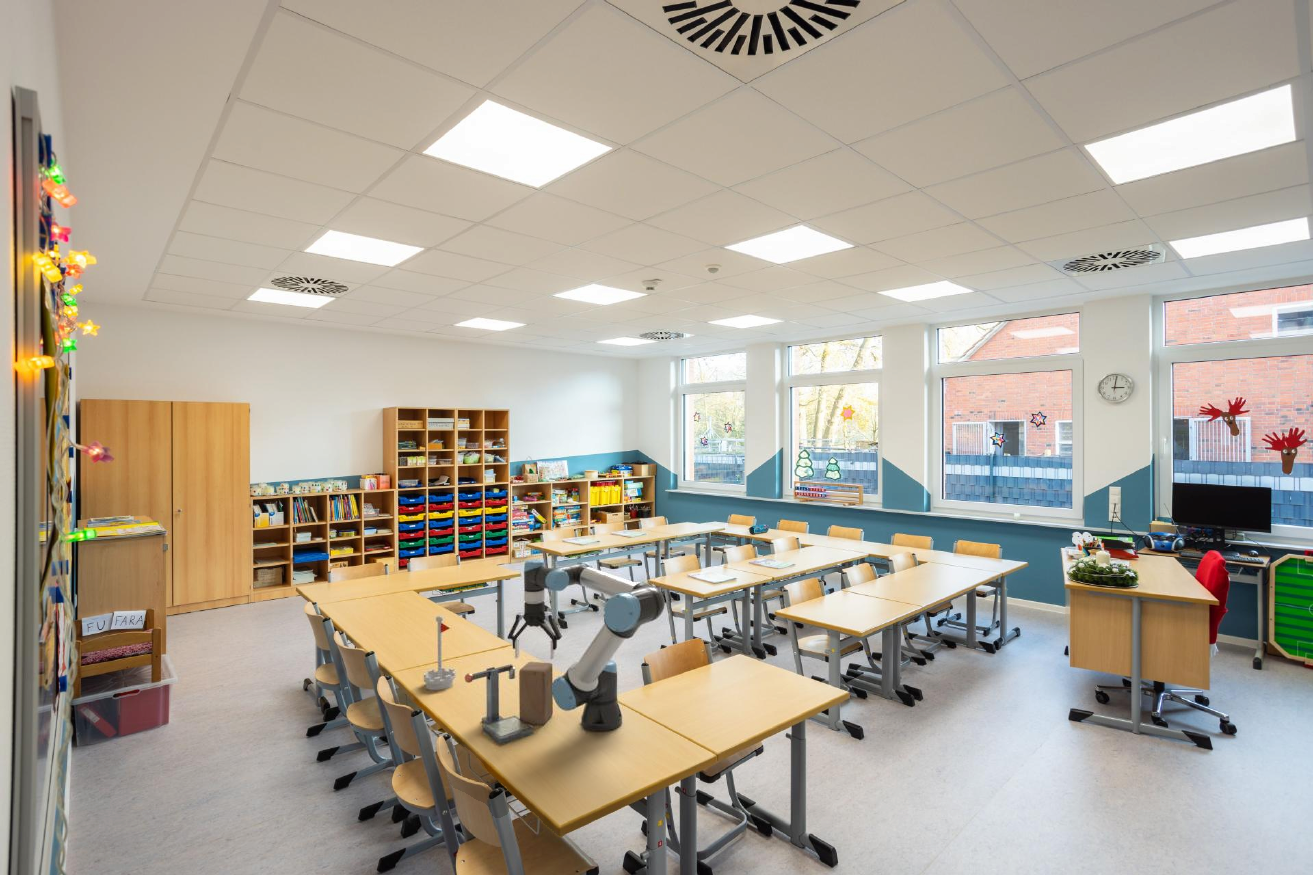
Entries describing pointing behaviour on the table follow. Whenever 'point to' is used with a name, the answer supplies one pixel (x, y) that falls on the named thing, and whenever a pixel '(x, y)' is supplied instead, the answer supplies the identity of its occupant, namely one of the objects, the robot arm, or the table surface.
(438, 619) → the flag stand
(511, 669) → the lever
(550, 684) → the wooden block
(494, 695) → the press
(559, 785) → the table surface
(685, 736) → the table surface
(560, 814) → the table surface
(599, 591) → the robot arm
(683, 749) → the table surface
